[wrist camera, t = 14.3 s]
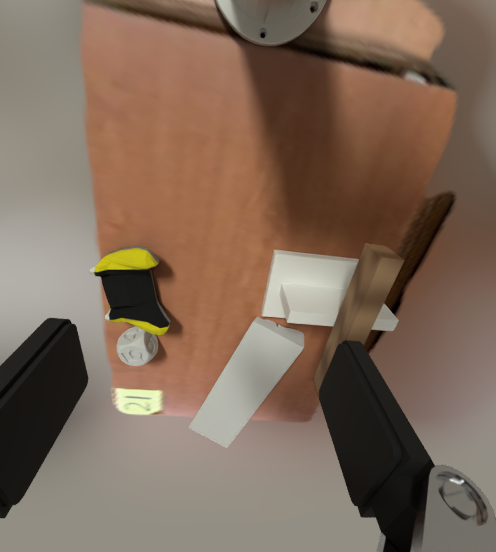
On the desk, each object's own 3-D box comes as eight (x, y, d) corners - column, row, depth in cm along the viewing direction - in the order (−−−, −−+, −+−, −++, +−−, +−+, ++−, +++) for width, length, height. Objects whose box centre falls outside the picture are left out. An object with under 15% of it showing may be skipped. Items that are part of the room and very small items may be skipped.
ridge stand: (274, 249, 41) (283, 278, 33) (392, 262, 43) (428, 292, 35) (261, 310, 46) (266, 347, 39) (366, 319, 49) (392, 356, 41)
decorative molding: (196, 410, 64) (232, 429, 64) (188, 427, 60) (226, 448, 60) (257, 307, 50) (304, 332, 50) (253, 321, 45) (303, 348, 45)
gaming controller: (163, 238, 39) (95, 240, 39) (153, 254, 34) (76, 255, 34) (176, 317, 47) (120, 319, 46) (170, 339, 42) (106, 341, 41)
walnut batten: (365, 243, 31) (381, 257, 27) (385, 245, 31) (404, 260, 28) (312, 378, 43) (319, 401, 39) (328, 379, 43) (336, 402, 39)
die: (123, 329, 47) (112, 349, 43) (148, 322, 47) (140, 342, 42) (136, 348, 50) (127, 369, 45) (161, 341, 49) (154, 362, 45)
